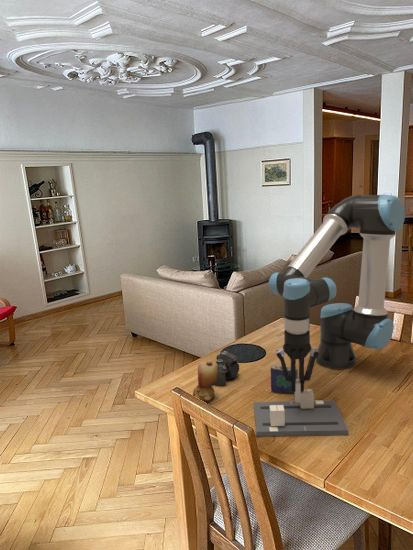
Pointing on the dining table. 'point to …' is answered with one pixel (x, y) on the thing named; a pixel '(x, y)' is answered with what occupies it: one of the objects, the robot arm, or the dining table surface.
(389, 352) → the dining table surface
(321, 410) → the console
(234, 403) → the dining table surface
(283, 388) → the flask
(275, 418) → the fader white
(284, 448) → the dining table surface
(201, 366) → the figurine
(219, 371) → the camera
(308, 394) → the off-white slider block
